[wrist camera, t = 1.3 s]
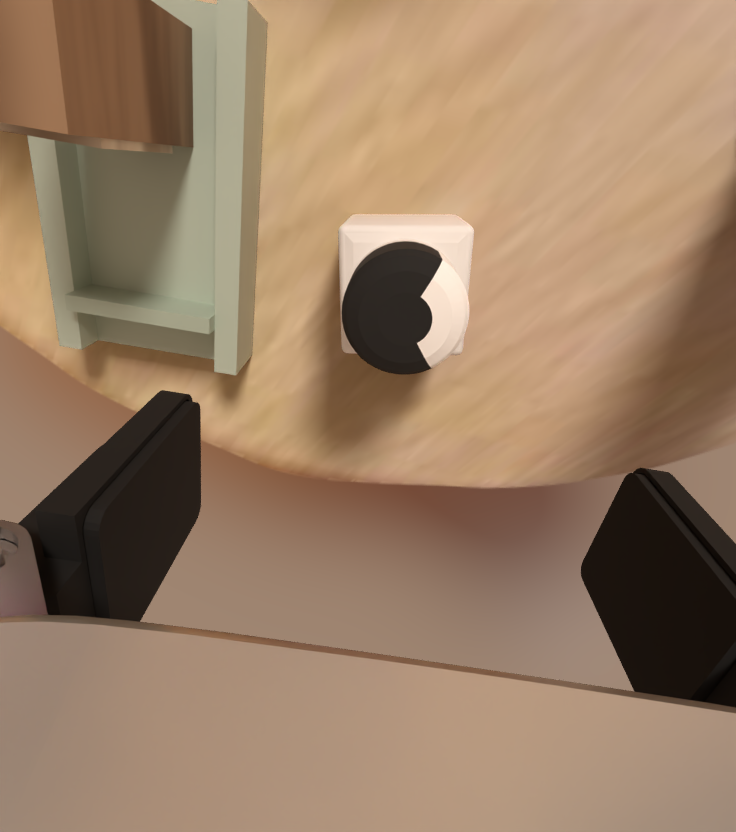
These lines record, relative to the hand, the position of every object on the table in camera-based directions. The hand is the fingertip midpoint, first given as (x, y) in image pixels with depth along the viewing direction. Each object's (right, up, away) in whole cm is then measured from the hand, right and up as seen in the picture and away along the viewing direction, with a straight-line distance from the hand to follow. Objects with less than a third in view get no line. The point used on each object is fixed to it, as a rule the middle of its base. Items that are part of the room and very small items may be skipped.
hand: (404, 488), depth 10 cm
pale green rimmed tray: (-14, +16, +21) cm, 30 cm away
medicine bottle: (+2, +12, +22) cm, 25 cm away
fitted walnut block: (-13, +20, +16) cm, 29 cm away
